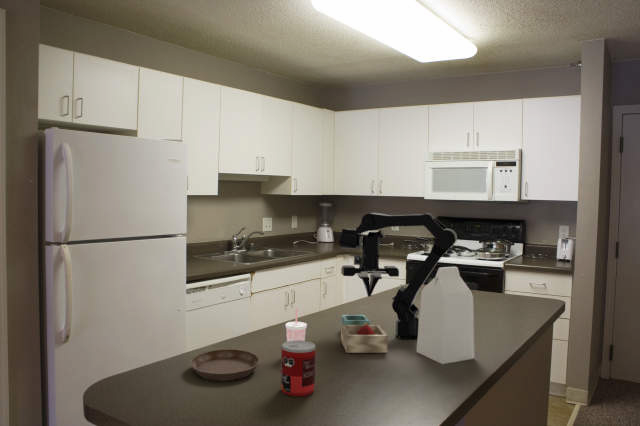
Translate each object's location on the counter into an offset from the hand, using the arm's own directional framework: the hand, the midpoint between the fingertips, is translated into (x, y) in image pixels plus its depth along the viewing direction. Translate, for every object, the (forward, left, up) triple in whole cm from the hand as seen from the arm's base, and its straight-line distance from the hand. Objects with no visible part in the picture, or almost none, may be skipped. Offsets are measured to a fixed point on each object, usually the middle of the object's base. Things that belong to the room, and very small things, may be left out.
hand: (369, 296), depth 175 cm
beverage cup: (+26, +24, -12) cm, 37 cm away
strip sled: (+5, +11, -12) cm, 17 cm away
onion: (+5, +19, -12) cm, 23 cm away
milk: (-18, +25, -12) cm, 33 cm away
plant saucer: (+45, +36, -12) cm, 59 cm away
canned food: (+27, +50, -12) cm, 58 cm away
